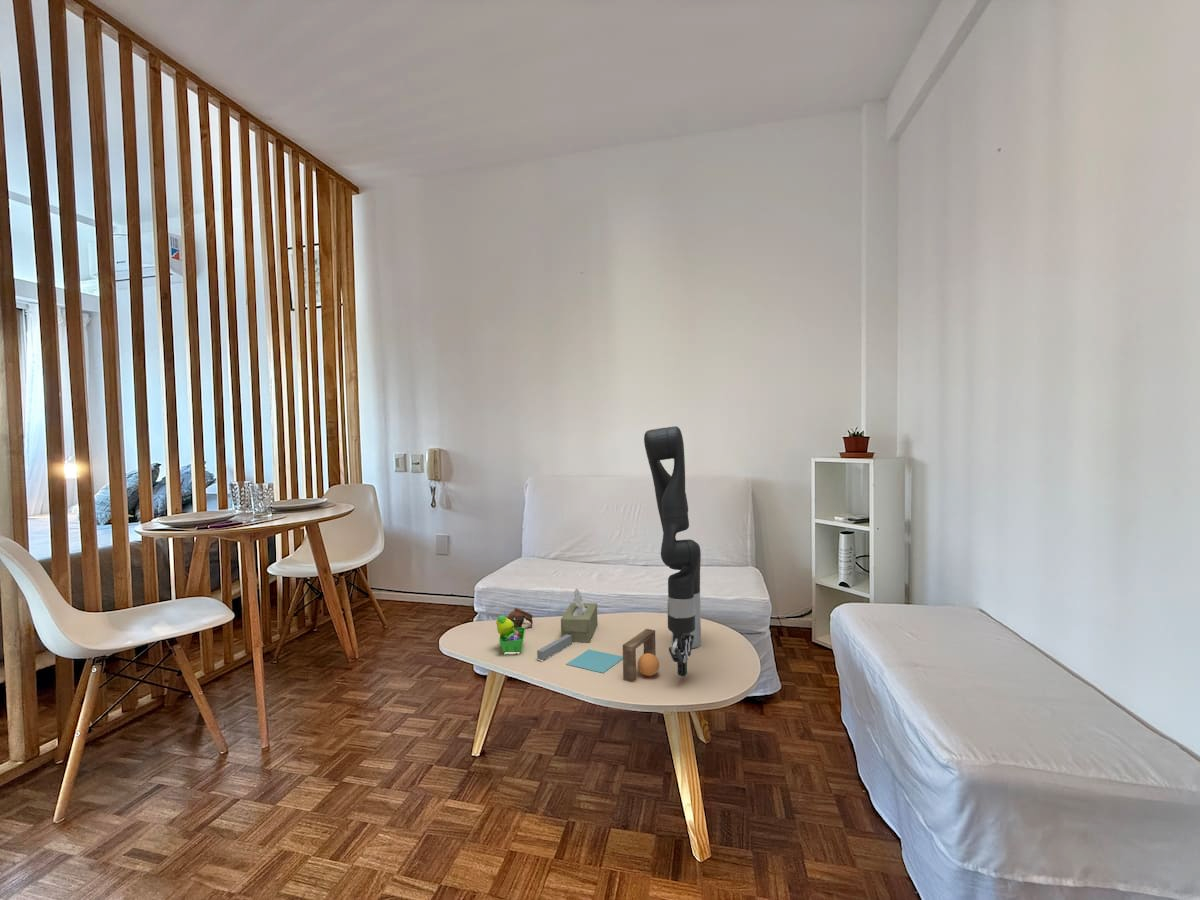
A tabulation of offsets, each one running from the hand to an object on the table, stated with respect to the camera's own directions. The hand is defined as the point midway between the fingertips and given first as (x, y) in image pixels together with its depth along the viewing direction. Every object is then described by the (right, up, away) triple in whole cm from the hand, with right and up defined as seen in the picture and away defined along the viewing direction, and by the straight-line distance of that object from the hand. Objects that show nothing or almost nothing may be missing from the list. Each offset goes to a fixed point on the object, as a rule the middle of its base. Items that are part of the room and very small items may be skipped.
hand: (682, 674), depth 148 cm
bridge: (-11, -2, +7) cm, 13 cm away
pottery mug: (-52, -2, +44) cm, 68 cm away
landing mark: (-24, -2, +14) cm, 28 cm away
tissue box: (-30, -2, +39) cm, 49 cm away
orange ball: (-9, +1, +4) cm, 10 cm away
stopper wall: (-37, -2, +22) cm, 43 cm away
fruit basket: (-52, -3, +25) cm, 57 cm away
